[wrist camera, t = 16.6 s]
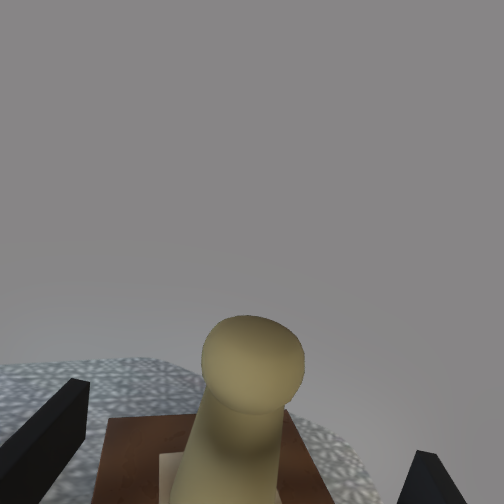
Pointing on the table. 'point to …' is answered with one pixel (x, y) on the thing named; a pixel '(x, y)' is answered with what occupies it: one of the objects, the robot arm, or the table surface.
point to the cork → (240, 413)
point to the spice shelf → (169, 457)
